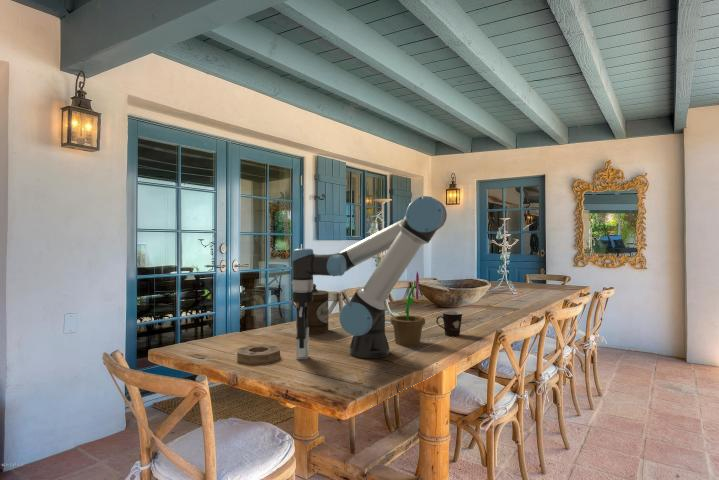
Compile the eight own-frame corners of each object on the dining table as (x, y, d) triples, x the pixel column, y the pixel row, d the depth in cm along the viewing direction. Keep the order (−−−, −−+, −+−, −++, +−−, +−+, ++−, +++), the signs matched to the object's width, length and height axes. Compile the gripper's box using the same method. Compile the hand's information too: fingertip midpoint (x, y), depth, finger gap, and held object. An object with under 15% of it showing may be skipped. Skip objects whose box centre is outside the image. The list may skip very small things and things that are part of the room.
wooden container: (326, 334, 202) (327, 285, 202) (293, 334, 203) (293, 285, 202) (329, 327, 217) (329, 282, 217) (298, 327, 217) (299, 281, 217)
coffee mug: (460, 333, 207) (460, 311, 207) (463, 337, 198) (463, 314, 198) (435, 332, 208) (435, 310, 208) (436, 336, 199) (436, 314, 199)
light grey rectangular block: (308, 356, 167) (308, 326, 167) (307, 359, 163) (307, 329, 163) (297, 356, 167) (297, 326, 167) (296, 359, 163) (296, 329, 163)
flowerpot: (423, 348, 180) (424, 272, 179) (388, 346, 183) (388, 272, 182) (425, 339, 194) (426, 269, 193) (392, 338, 197) (392, 269, 196)
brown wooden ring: (287, 355, 168) (287, 347, 168) (259, 366, 155) (259, 357, 155) (257, 350, 176) (257, 342, 176) (228, 359, 163) (228, 351, 163)
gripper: (295, 287, 173) (295, 348, 174) (288, 294, 156) (288, 361, 157) (315, 288, 174) (315, 348, 174) (310, 294, 156) (310, 361, 157)
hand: (302, 354), depth 165 cm, fingers closed on light grey rectangular block, 4 cm apart
